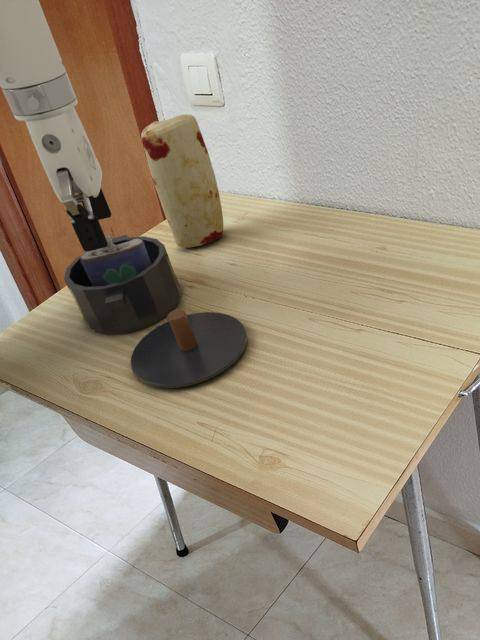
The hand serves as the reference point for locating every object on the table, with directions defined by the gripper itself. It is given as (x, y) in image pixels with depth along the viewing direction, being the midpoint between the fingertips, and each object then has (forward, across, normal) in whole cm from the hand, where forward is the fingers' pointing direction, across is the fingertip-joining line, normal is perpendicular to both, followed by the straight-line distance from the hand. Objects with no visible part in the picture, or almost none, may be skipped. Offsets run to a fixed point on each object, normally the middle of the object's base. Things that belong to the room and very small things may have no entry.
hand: (98, 232), depth 81 cm
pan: (+12, 0, -1) cm, 12 cm away
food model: (+12, +16, -13) cm, 24 cm away
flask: (+12, 0, -1) cm, 12 cm away
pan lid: (+11, -16, -9) cm, 21 cm away
